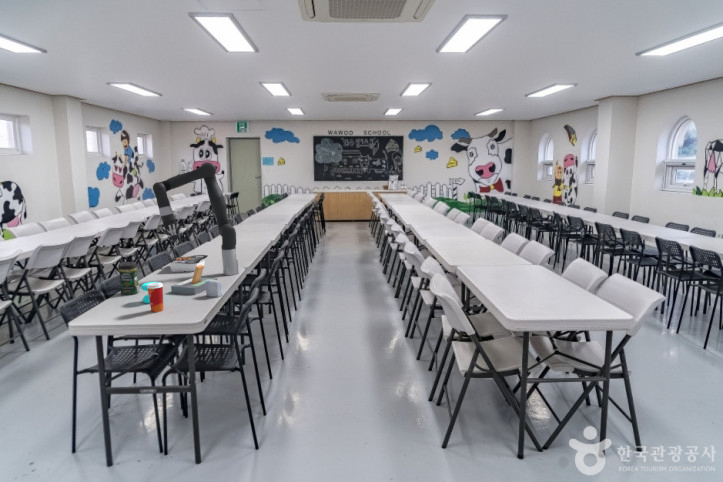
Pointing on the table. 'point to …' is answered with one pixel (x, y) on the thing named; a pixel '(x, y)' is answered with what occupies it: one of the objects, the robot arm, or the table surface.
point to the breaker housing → (190, 286)
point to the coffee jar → (128, 278)
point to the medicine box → (214, 288)
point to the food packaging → (186, 263)
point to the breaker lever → (197, 274)
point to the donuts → (144, 287)
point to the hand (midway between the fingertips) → (175, 241)
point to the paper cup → (155, 296)
